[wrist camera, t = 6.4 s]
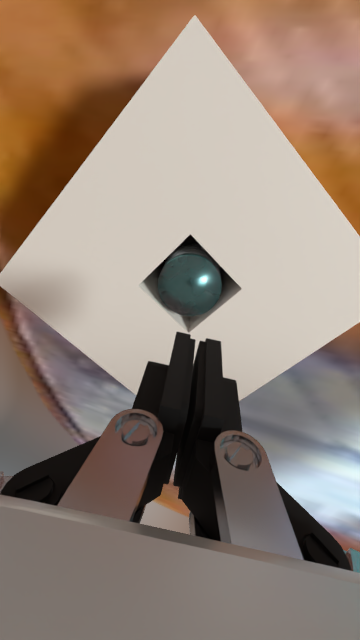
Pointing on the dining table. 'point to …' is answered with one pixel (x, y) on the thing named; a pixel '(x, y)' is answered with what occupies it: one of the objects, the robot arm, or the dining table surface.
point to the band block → (192, 231)
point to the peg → (190, 279)
